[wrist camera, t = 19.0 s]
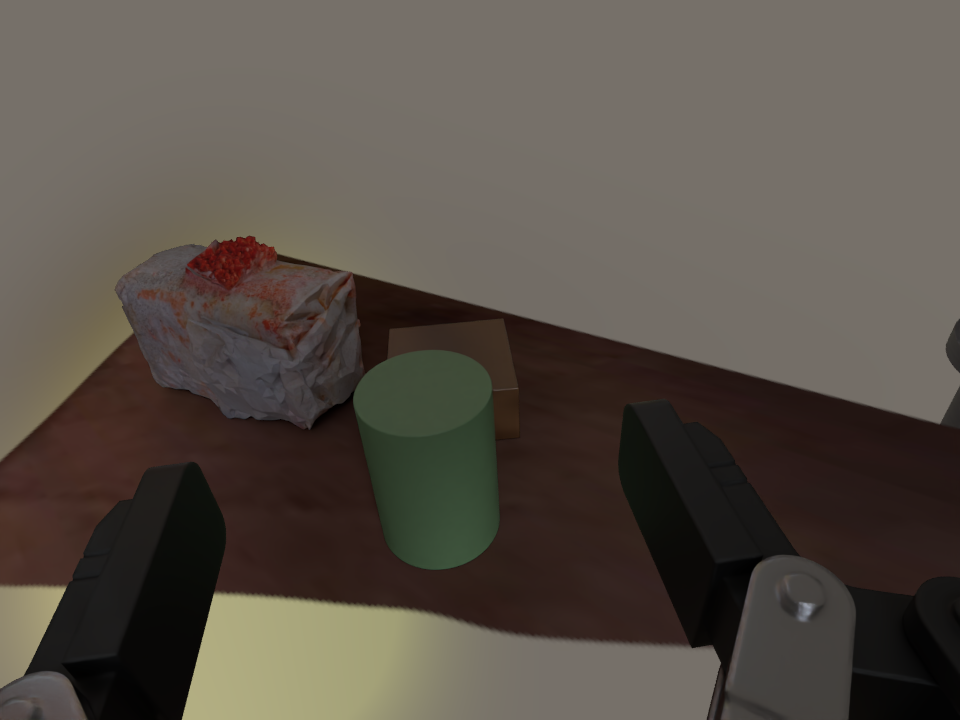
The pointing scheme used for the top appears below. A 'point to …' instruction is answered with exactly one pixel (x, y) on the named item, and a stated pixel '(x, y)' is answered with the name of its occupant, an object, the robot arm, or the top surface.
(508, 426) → the walnut block
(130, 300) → the food item
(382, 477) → the green tin
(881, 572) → the top surface
